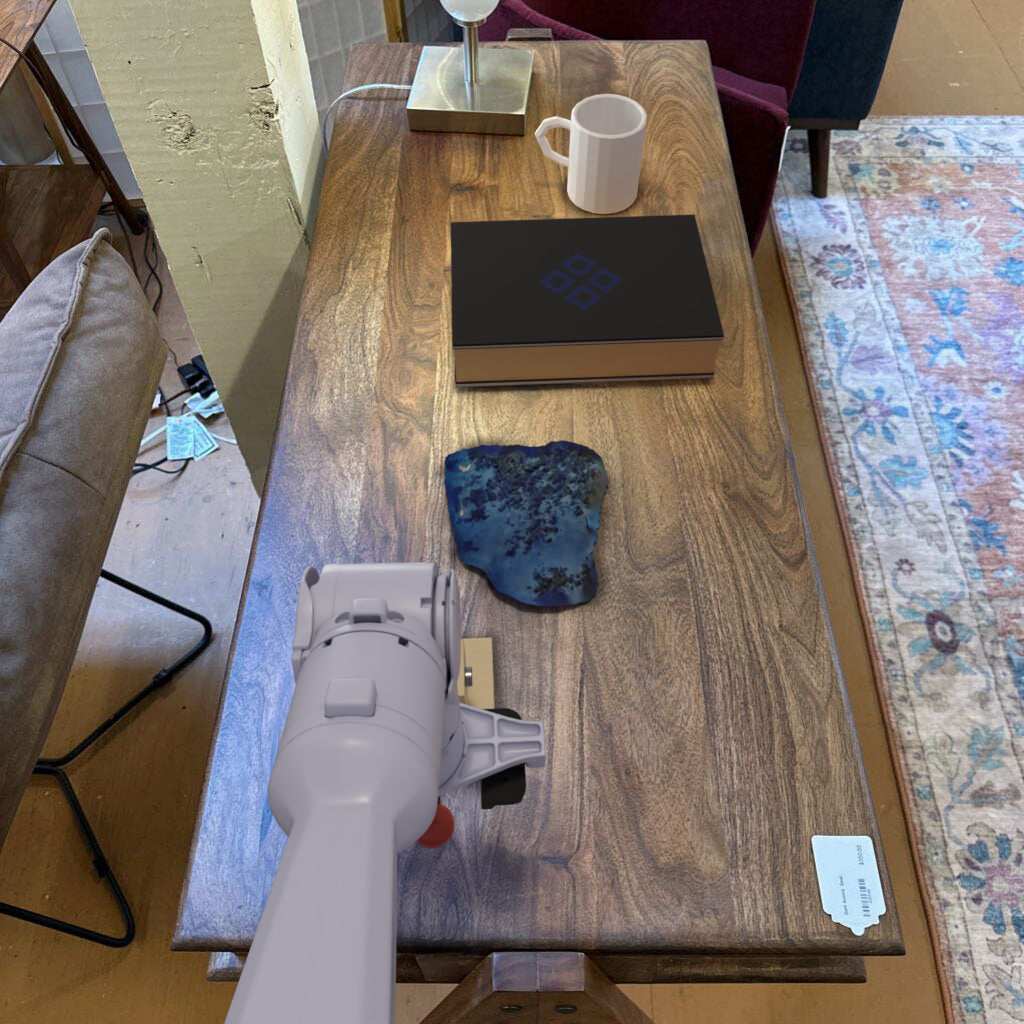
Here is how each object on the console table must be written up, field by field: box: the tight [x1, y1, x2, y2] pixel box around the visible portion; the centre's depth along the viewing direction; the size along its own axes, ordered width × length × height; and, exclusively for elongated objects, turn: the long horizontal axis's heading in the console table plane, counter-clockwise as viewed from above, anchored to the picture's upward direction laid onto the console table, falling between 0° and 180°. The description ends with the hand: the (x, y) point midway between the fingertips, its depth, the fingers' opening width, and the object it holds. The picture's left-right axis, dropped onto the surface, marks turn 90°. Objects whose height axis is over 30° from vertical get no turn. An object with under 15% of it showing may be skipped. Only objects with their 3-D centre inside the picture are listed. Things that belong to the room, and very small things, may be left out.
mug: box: [534, 93, 648, 215], centre depth 103 cm, size 8×12×10 cm
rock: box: [443, 439, 610, 608], centre depth 80 cm, size 15×17×2 cm
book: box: [450, 214, 725, 389], centre depth 92 cm, size 17×25×7 cm
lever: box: [415, 796, 456, 850], centre depth 65 cm, size 13×3×3 cm, turn 3°
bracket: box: [457, 637, 496, 709], centre depth 68 cm, size 11×9×8 cm
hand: (425, 796), depth 58 cm, fingers open, 7 cm apart
